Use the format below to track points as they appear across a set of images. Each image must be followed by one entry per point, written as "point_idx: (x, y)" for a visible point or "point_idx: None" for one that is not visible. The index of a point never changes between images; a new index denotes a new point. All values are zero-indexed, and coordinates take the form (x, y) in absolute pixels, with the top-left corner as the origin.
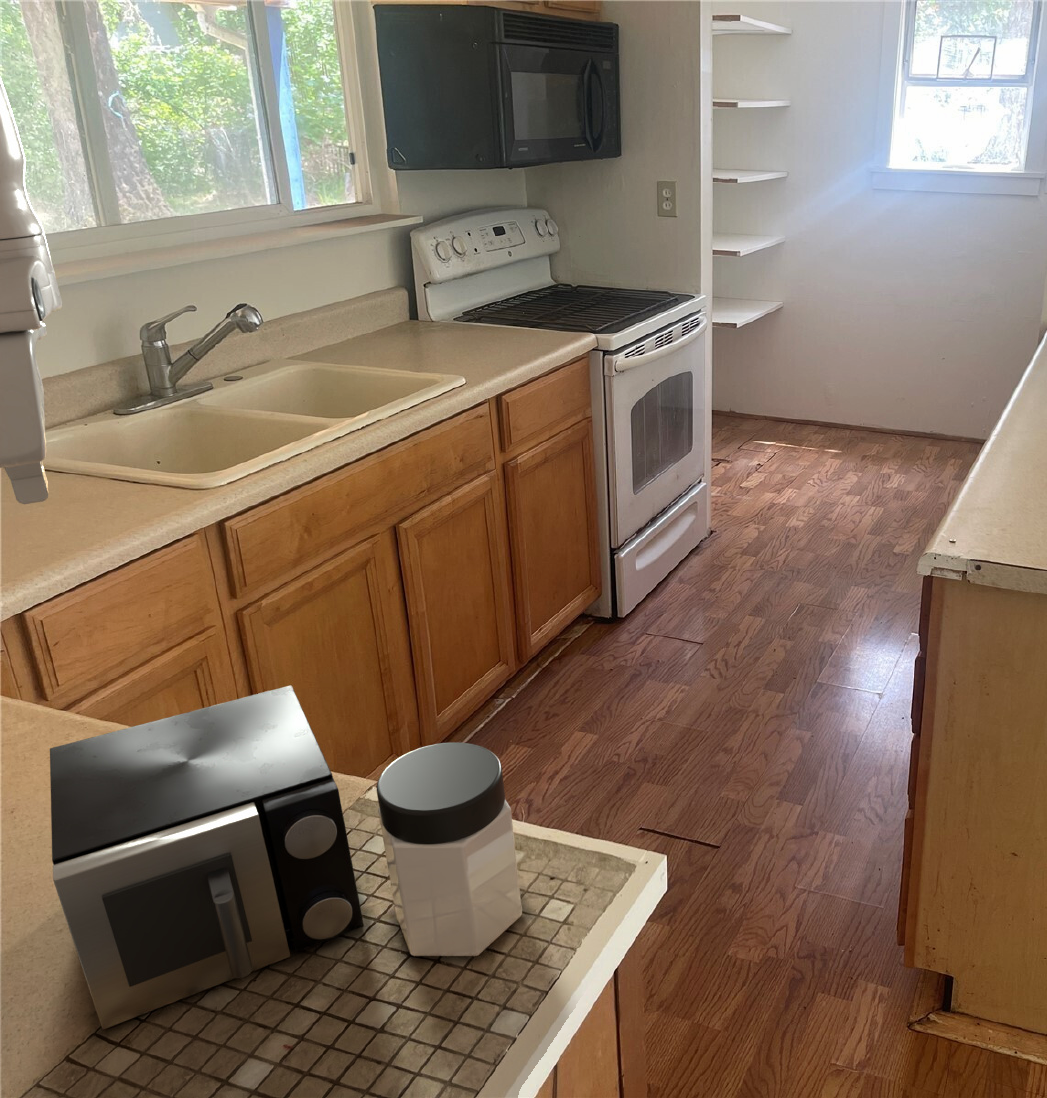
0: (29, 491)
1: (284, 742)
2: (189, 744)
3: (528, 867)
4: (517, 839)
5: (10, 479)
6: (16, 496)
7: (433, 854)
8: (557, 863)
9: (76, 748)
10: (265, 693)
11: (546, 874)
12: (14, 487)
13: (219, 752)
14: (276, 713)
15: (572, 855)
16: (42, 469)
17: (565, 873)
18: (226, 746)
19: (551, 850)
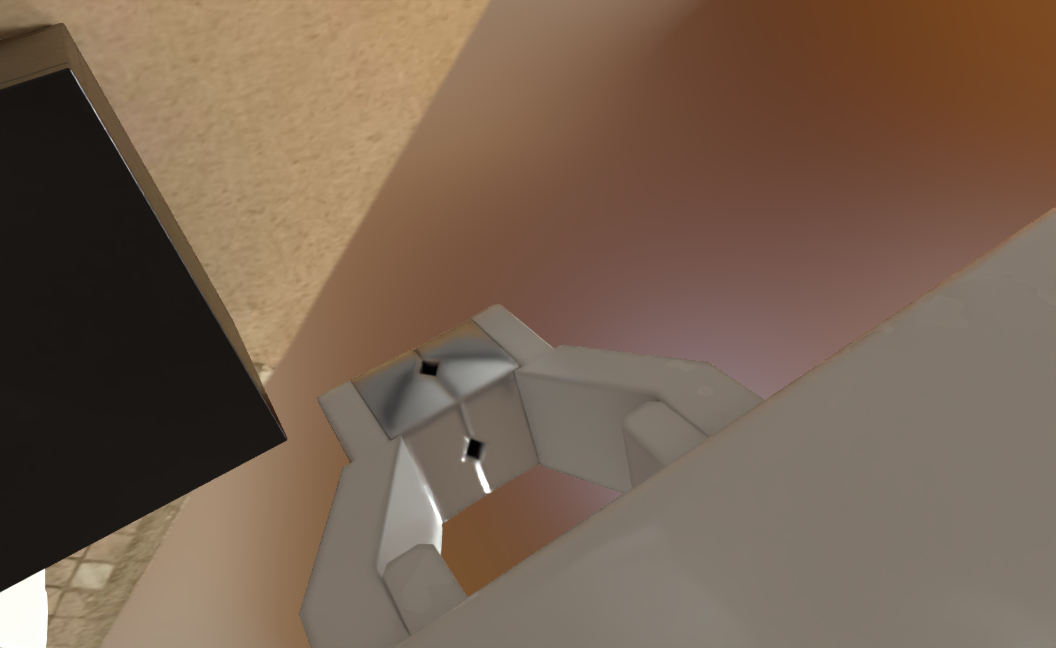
0: (349, 460)
1: (61, 513)
2: (63, 358)
3: (66, 601)
4: (132, 572)
5: (342, 470)
6: (324, 412)
7: None
8: (73, 627)
9: (63, 132)
10: (262, 411)
11: (49, 623)
12: (341, 439)
13: (25, 423)
14: (179, 458)
15: (89, 636)
16: (495, 487)
17: (49, 641)
18: (51, 425)
19: (103, 612)
